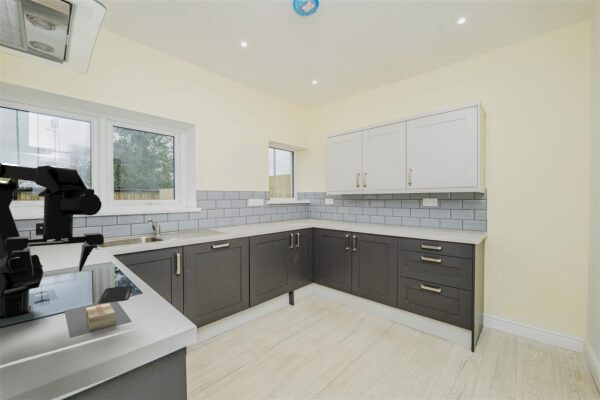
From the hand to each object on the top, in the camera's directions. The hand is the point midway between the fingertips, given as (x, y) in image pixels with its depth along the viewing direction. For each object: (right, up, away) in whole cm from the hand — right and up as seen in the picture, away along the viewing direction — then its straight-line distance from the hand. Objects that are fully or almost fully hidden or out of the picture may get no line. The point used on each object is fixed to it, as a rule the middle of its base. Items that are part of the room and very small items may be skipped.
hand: (57, 274), depth 68 cm
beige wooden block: (+12, -12, -2) cm, 17 cm away
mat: (+9, -12, +2) cm, 15 cm away
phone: (+3, -13, +18) cm, 22 cm away
